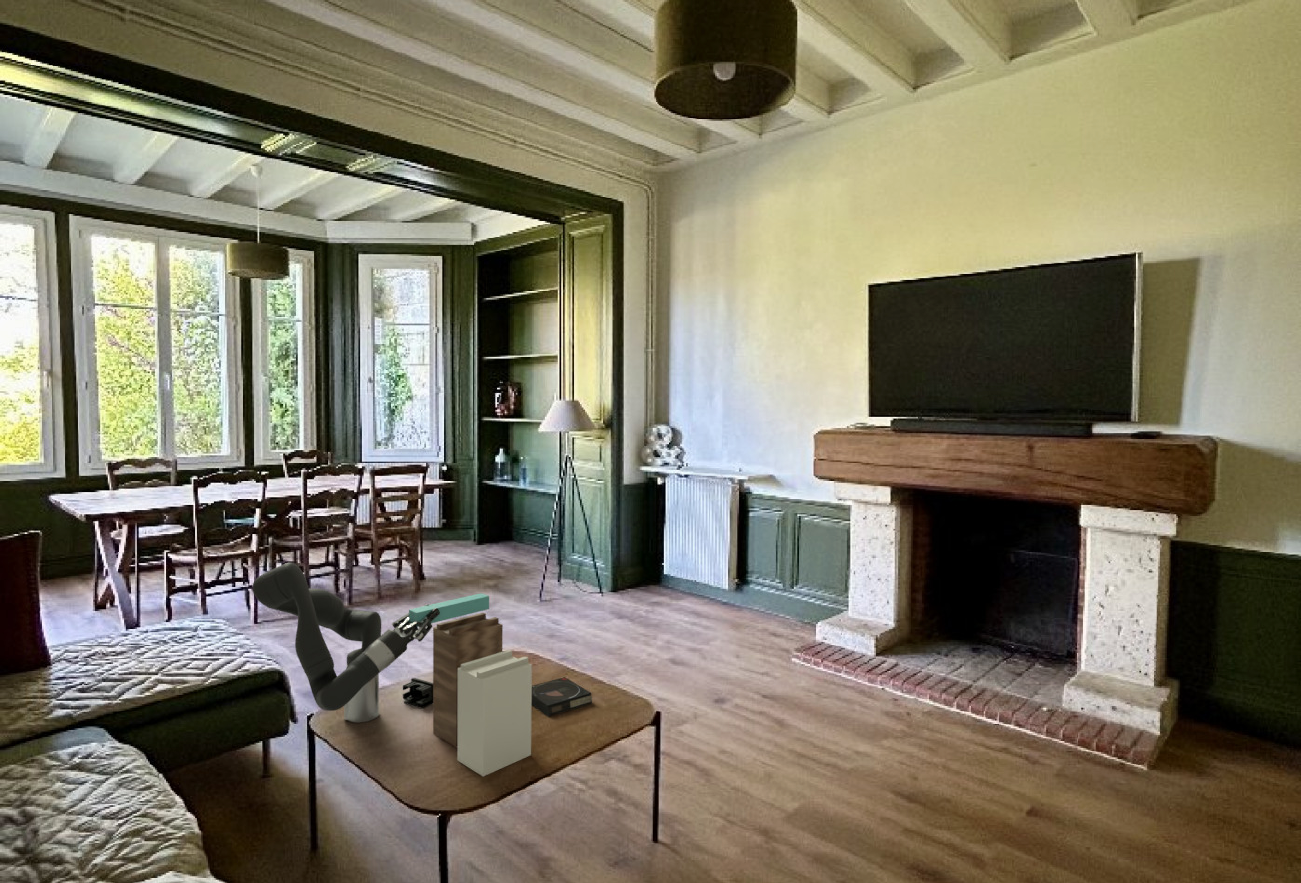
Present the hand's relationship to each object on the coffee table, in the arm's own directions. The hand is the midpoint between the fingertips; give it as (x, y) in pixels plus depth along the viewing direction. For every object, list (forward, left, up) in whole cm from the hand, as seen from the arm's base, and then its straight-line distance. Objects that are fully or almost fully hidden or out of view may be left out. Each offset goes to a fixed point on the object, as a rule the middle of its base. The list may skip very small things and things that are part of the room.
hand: (433, 608), depth 206 cm
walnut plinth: (+7, +9, -40) cm, 41 cm away
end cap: (-14, +28, -40) cm, 51 cm away
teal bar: (+4, +4, -3) cm, 6 cm away
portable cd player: (+30, +32, -40) cm, 60 cm away
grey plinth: (+19, -6, -40) cm, 45 cm away
